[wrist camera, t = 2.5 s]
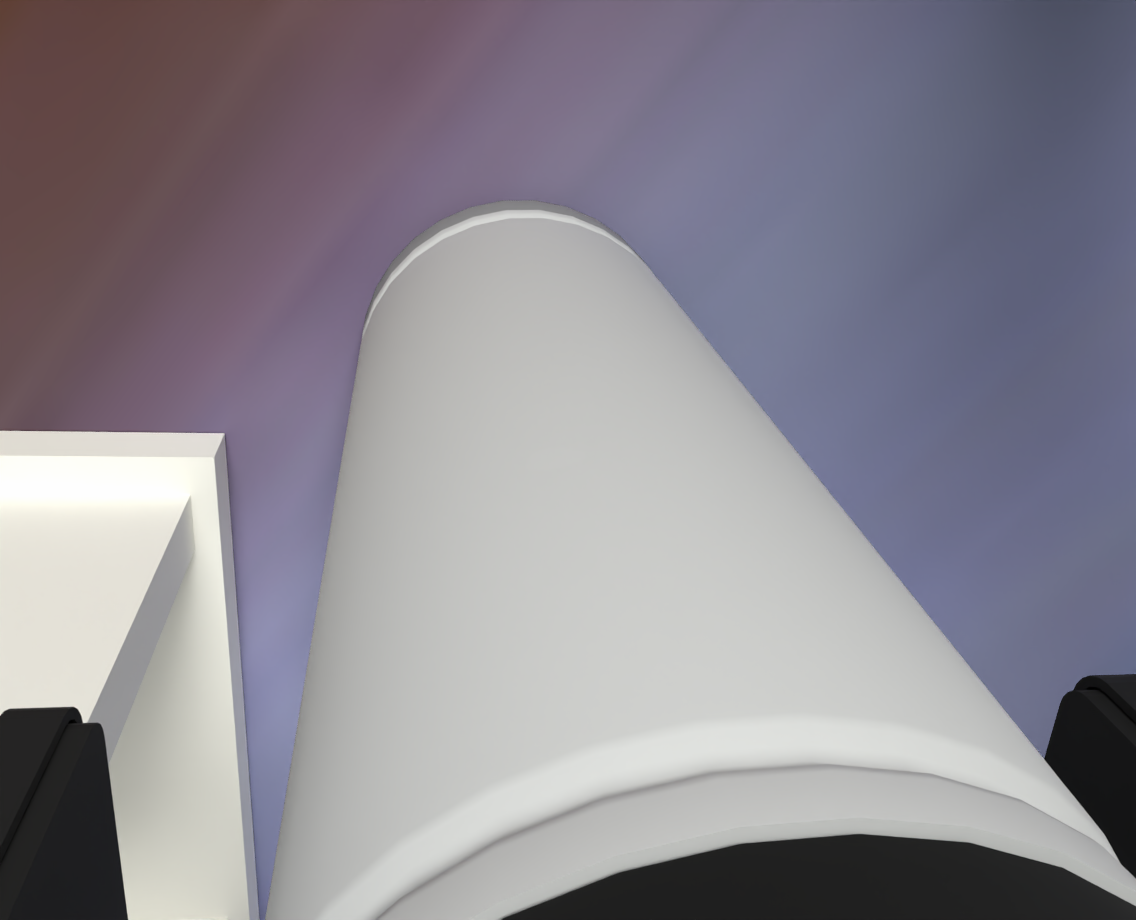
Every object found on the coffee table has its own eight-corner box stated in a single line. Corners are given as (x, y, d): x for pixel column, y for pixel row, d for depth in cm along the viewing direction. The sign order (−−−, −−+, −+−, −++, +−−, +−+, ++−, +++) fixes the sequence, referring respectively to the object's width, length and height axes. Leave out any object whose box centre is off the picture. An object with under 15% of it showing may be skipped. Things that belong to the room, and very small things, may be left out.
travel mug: (740, 315, 22) (2292, 1923, 4) (537, 541, 23) (935, 2441, 5) (505, 113, 20) (1522, 1667, 2) (299, 378, 21) (-417, 2689, 3)
